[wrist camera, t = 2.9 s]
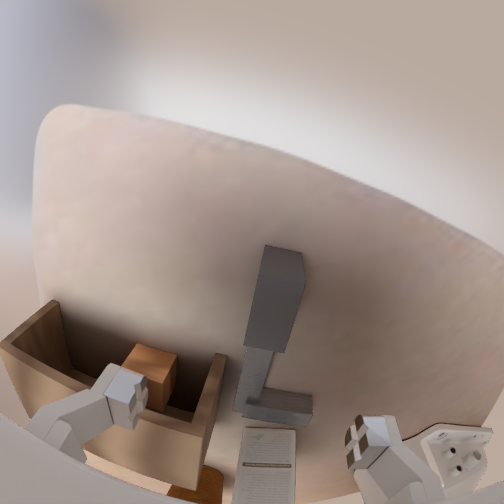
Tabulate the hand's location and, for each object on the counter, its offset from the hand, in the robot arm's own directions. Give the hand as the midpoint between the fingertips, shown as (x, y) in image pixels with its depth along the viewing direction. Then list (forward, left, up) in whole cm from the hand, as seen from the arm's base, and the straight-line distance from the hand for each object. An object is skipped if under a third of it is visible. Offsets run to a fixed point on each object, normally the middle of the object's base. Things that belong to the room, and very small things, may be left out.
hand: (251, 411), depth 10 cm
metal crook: (-3, +6, -13) cm, 14 cm away
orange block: (+9, +12, -13) cm, 19 cm away
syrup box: (-4, +20, -13) cm, 24 cm away
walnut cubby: (+12, +14, -13) cm, 22 cm away
